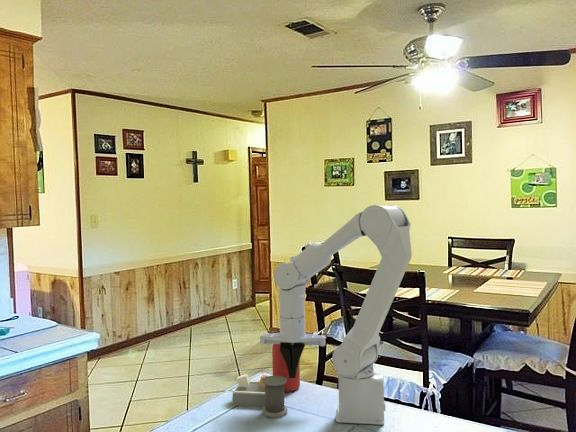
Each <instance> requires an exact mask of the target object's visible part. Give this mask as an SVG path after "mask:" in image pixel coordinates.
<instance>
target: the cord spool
mask: <svg viewBox="0 0 576 432" xmlns="http://www.w3.org/2000/svg"><path fill="white" fill-rule="evenodd" d="M267 376H268V375H267ZM262 383H263V384H265V407H262V415H263V416H264V417H267V418H269V419H270V418H271V419H279V418H283V417H285V416H287V415H288V407H287V406H286V405H285V392H284V384H285V383H287V378H285V377H283V376H273V375H269V376H268V377H265V378H263V379H262Z"/></svg>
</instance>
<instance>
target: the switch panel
mask: <svg viewBox="0 0 576 432" xmlns="http://www.w3.org/2000/svg"><path fill="white" fill-rule="evenodd" d="M259 383H260V380H250V383H249V385H245V386H242V387H239V385H238V386H237V387H236V388H235V390H234V391H233V392H232V406H243V407H248V406H249V407H262V408H264V407H265V387H263V386H260V385H259Z"/></svg>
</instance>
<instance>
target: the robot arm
mask: <svg viewBox="0 0 576 432" xmlns="http://www.w3.org/2000/svg"><path fill="white" fill-rule="evenodd" d="M410 229H411V221H410V219H409V217H408V216H407V214H406V213H405V211H404V210H403V209H402V207H400V206H397V205H395V204H393V205H392V204H389V205H379V204H373V205H369V206H367V207H366V208H364V210H363V211H359V212H358V213H357V214H355V215H354V216H353V217H352V218H351V219H350V220H348V221H347V222H346V223H345V224H344V225H342V227H340V228H339V229H338V230H336V231H335V232H334V233H333V234H332V235H330V236H329V237H328V238H327V239H326V240H324V241H323V242H322V243H321V242H317V241H316V242H315V241H314V242H309V243H307V244H305V245H304V247H305V248H304V249H303V250H302V251H301V252H300V253H298V254H297V255H293V256H290V261H289V262H281V263H279V264H278V266H277V267H276V268H275V270H274V272H273V273H274V274H273V279H274V282H275V284H276V286H277V288H278V289H279V290H278V291H279V292H278V293H279V297H278V299H279V303H278V304H279V332H277V333H276V332H274V333H261V334H260V335H259V344H260V345H265V344H267V345H268V344H271V345H273V344H280V352H281V354H282V356H283V358H284V360H285V362H286V365H287V369H288V373H289V378H296V376H297V368H298V364H299V360H300V359H301V356H302V354H303V351H304V350H305V346H320V347H325V346H326V335H323V334H312V333H306V294H305V293H306V289H307V288H306V287H307V284H308V283H309V281H310V279H311V278H312V277H314V276H315V275H317V274H318V273H320V272H321V271H322V270H324V269H325V268H326V267H329V265H330V264H331V262H332V256H333V255H334V254H336V253H338V252H339V251H341V250H342V249H344V248H345V247H347V246H348V245H350V244H351V243H353V242H354V241H356V240H357V239H359V238H361V237H368V238H369V239H370V241H371V242H372V243H373V244H374V245H375V246H376V248H377V250H378V251H379V254H380V257H381V259H380V262H379V264H378V266H377V269H376V271H375V273H374V277H373V278H372V280H371V284H370V286H369V288H368V290H367V293H366V296H365V298H364V300H363V302H362V305H361V307H360V310H359V311H358V315H357V317H356V319H355V322H354V324H353V326H352V327H351V329H350V330H349V331H348V333H347V334H346V335H345V336H344V337H343V341H342V343H341V344H339V345H338V346H337V347H336V348H335V349H334V350H333V352H332V355H331V356H332V357H331V360H332V364H333V367H334V369H335V370H336V372H337V375H338V405H337V411H336V418H335V422H336V423H346V424H361V425H362V424H364V425H379V426H381V425H382V426H383V425H384V424H385V412H386V401H385V393H384V392H385V387H384V386H385V385H384V383H385V382H384V374H383V373H377V372H375V371H374V370H375V369H374V364H375V363H376V362H377V360H378V358H379V344H380V341H381V336H380V331H381V329H382V327H383V325H384V322H385V321H386V317H387V315H388V313H389V311H390V308H391V306H392V303H393V301H394V299H395V297H396V294H397V292H398V290H399V288H400V285H401V282H402V280H403V278H404V275H405V273H406V271H407V268H408V266H409V264H410V262H411V259H412V257H413V256H412V255H413V252H412V243H411V235H410Z"/></svg>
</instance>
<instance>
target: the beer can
mask: <svg viewBox="0 0 576 432" xmlns="http://www.w3.org/2000/svg"><path fill="white" fill-rule="evenodd" d="M271 349H272V351H271V352H272V358H271V359H272V376H283V377H285V378H287V383H285V384H284V393H286V392H287V393H290V392H293V391H296V390H299V388H300V386H301V370H300V369H301V368H300V367H301V365H300V360H299V364H298V368H297V376H296V378H289V373H288V369H287V365H286V362H285V360H284V358H283V356H282V354H281V352H280V344H272V348H271Z"/></svg>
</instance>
